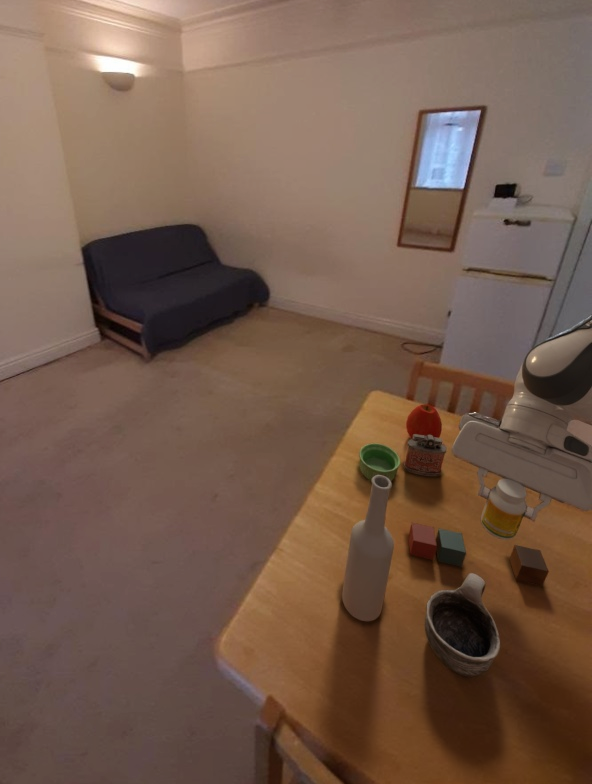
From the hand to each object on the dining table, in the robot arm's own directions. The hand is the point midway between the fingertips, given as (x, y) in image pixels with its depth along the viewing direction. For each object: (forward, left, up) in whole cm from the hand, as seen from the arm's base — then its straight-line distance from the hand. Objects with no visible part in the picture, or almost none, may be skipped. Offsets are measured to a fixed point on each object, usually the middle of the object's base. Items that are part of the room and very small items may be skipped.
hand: (505, 508), depth 68 cm
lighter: (+8, -21, -15) cm, 28 cm away
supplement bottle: (0, -1, -6) cm, 6 cm away
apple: (+7, -32, -15) cm, 37 cm away
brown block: (-7, 0, -15) cm, 16 cm away
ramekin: (+18, -18, -15) cm, 30 cm away
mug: (+7, +15, -15) cm, 22 cm away
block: (+6, 0, -15) cm, 16 cm away
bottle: (+21, +13, -15) cm, 29 cm away
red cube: (+11, 0, -15) cm, 19 cm away
